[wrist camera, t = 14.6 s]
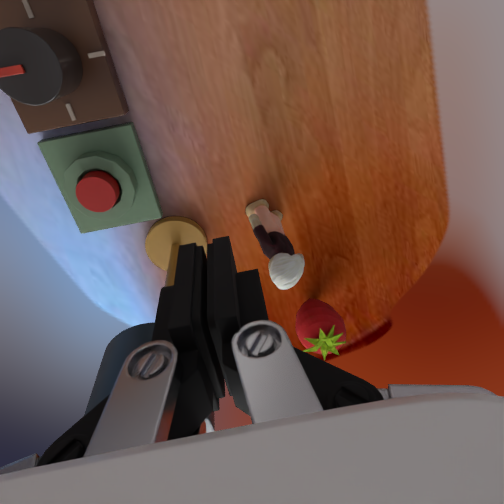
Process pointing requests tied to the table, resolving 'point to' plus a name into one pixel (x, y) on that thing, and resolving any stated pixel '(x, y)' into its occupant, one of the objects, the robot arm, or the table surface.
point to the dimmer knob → (37, 65)
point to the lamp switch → (97, 191)
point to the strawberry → (320, 327)
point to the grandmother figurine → (275, 245)
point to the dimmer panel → (92, 57)
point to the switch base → (112, 162)
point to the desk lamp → (165, 257)
